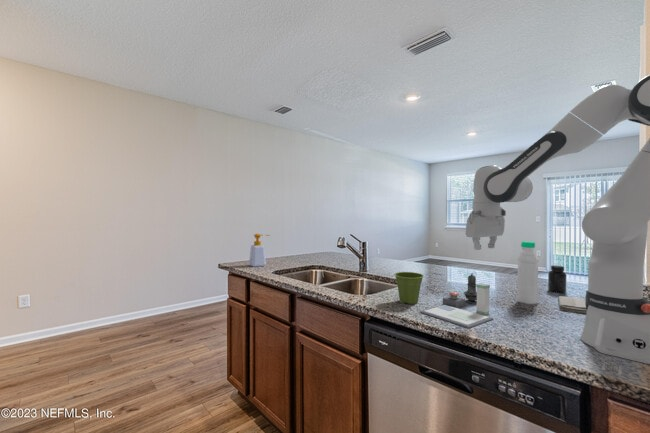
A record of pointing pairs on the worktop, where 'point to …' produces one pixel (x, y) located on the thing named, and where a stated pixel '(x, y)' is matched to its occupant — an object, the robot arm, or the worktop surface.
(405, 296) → the plant pot
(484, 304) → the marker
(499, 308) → the worktop surface
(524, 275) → the water bottle
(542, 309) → the worktop surface
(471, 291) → the dark tiered figurine
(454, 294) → the button
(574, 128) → the robot arm
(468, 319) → the white rectangular board
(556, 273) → the supplement bottle
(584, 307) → the washcloth
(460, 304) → the button housing
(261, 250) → the soap bottle
